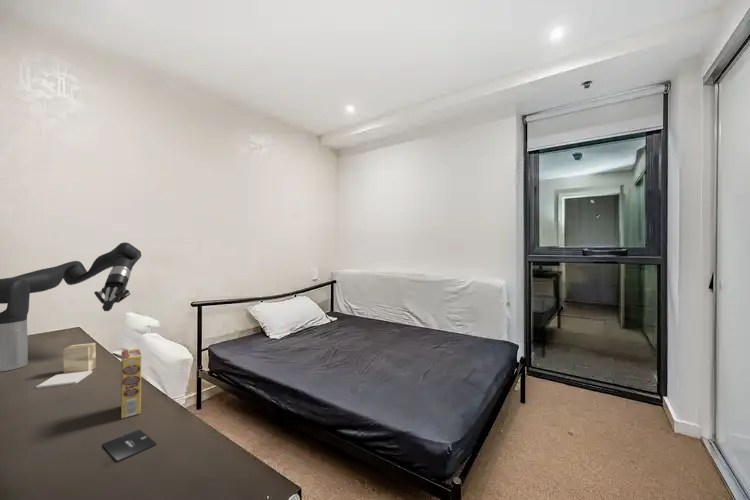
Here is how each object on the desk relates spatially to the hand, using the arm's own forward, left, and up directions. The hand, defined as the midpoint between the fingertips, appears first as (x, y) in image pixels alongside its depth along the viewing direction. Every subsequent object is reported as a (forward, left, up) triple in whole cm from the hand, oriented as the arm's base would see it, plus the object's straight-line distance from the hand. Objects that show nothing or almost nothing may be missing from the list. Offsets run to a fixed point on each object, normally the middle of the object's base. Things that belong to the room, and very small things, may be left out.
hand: (106, 310), depth 132 cm
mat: (+17, -22, -18) cm, 34 cm away
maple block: (+12, -16, -18) cm, 27 cm away
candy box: (+60, -30, -19) cm, 69 cm away
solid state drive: (+76, -40, -19) cm, 88 cm away
